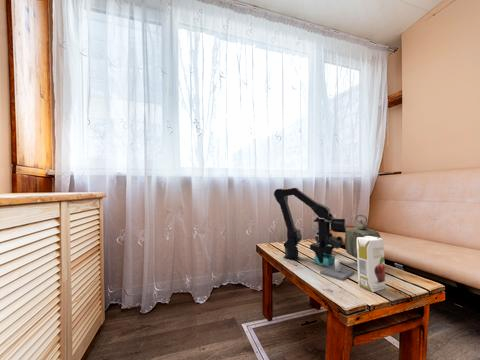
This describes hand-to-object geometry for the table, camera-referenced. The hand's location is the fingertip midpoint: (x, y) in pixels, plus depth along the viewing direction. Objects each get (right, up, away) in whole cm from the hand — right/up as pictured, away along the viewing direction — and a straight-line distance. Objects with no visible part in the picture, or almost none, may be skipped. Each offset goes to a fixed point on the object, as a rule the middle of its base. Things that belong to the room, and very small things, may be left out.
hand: (324, 261), depth 109 cm
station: (+1, 0, -13) cm, 13 cm away
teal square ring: (0, -1, 0) cm, 1 cm away
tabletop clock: (+18, -1, -3) cm, 18 cm away
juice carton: (+7, 0, -27) cm, 28 cm away
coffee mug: (+7, -2, +21) cm, 22 cm away
